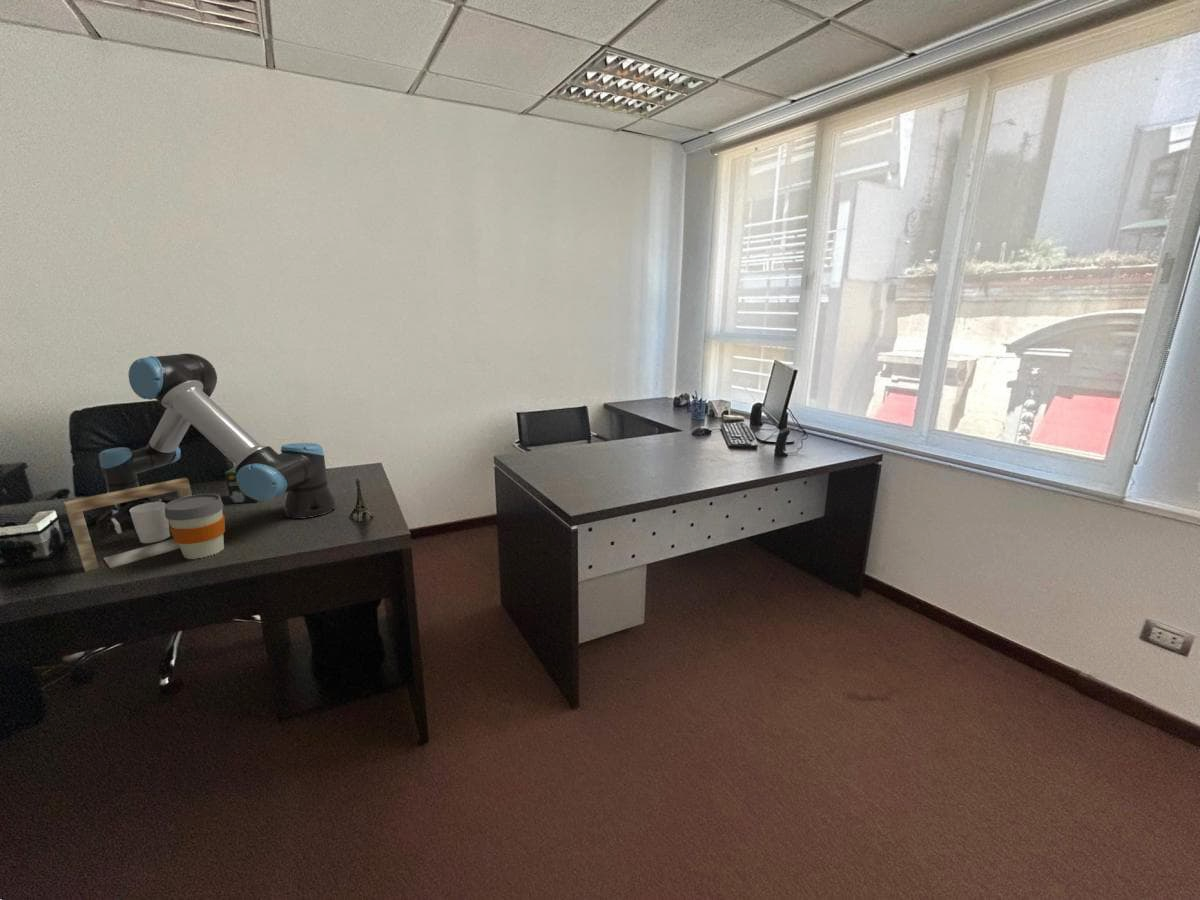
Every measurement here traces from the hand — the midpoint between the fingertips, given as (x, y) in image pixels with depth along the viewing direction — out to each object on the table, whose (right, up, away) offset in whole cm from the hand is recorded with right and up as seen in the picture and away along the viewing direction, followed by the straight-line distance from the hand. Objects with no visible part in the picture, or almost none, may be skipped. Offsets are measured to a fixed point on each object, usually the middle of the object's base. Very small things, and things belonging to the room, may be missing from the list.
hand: (150, 521), depth 145 cm
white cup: (-1, -6, +2) cm, 6 cm away
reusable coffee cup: (+19, -8, -5) cm, 21 cm away
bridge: (+4, -8, -6) cm, 11 cm away
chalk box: (+6, +3, +34) cm, 34 cm away
